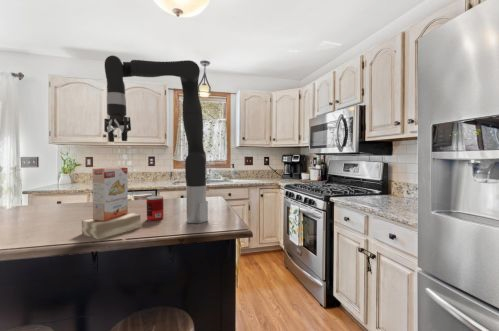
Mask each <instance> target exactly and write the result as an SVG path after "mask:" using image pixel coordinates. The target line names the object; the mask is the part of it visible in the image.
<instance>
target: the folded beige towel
mask: <svg viewBox="0 0 499 331" xmlns="http://www.w3.org/2000/svg"><path fill="white" fill-rule="evenodd" d="M141 227H142V226H141V214H137V213H134V212H128V213H127V214H124V215H121V216H119V217H116V218H113V219H110V220H107V221H95V220H93V217H92V218H87V219H82V220H81V234H82V235H84V236H86V237H87V236H88V237H90V238H94V239H97V240H102V239H105V238H107V237H111V236H115V235H118V234H122V233H125V232H130V231H132V230H136V229H140V228H141Z"/></svg>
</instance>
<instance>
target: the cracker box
mask: <svg viewBox="0 0 499 331" xmlns="http://www.w3.org/2000/svg"><path fill="white" fill-rule="evenodd" d="M128 173H129V172H128V167H127V166H126V167H125V166H123V167H122V166H121V167H120V166H119V167H118V166H117V167H99V168H92V218H93V220H95V221H107V220H110V219H113V218H116V217H119V216H121V215H124V214H127V213H129V212H128V211H129V210H128V206H129V205H128V203H129V202H128V198H129V197H128V195H129V194H128V192H129V191H128V190H129V188H128V186H129V185H128V184H129V183H128V182H129V180H128V178H129V176H128Z"/></svg>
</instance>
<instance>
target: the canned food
mask: <svg viewBox="0 0 499 331" xmlns="http://www.w3.org/2000/svg"><path fill="white" fill-rule="evenodd" d="M163 219H164V196H163V195H152V196H150V195H149V196H148V197H147V196H146V220H147V221H149V222H150V221H151V222H155V221H156V222H157V221H161V220H163Z"/></svg>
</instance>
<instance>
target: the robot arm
mask: <svg viewBox="0 0 499 331" xmlns="http://www.w3.org/2000/svg"><path fill="white" fill-rule="evenodd" d="M104 72H105V78H106V90H107V91H106V113H107V115H108V116H109V118H104V119H103V120H104V126H103V127H104V129H103V130H104V132H105V133H107V134H108V135H107V138H108V139H107V140H108V142H109V143H113V142H115V130H117V129H119V130H120V131H121V134H120V135H121V141H122V142H127V141H128V133H129V131H130V132H131V131H132V124H131V123H132V121H131V117H130V116H127V98H126V85H125V82H124V78H130V77H131V78H132V77H139V78H140V77H141V78H159V77H166V76H167V77H169V76H170V77H177V78H179V79H180V82H181V88H182V123H183V129H184V133H185V136H186V140H187V156H186V157H185V161H184V163H185V164H184V166H185V168H184V169H185V170H184V171H185V184H186V185H185V188H186V190H185V191H186V194H185V196H186V198H185V199H186V201H185V202H186V204H185V205H186V222H187V223H188V224H202V223H205V222H208V221H209V208H208V207H209V206H208V205H209V202H208V200H207V180H206V178H207V177H206V165H207V158H206V155H205V149H204V141H203V139H204V137H203V136H204V116H203V110H202V105H201V100H200V97H199V78H200V72H201V70H200V66H199V65H198V63H197V62H195V61H193V60H176V61H175V60H174V61H155V60H154V61H153V60H144V59H131V61H122V59H120V57H118V56H116V55H113V54H112V55H110V56H109V55H108V56H107V57H106V58H105V59H104Z"/></svg>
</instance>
